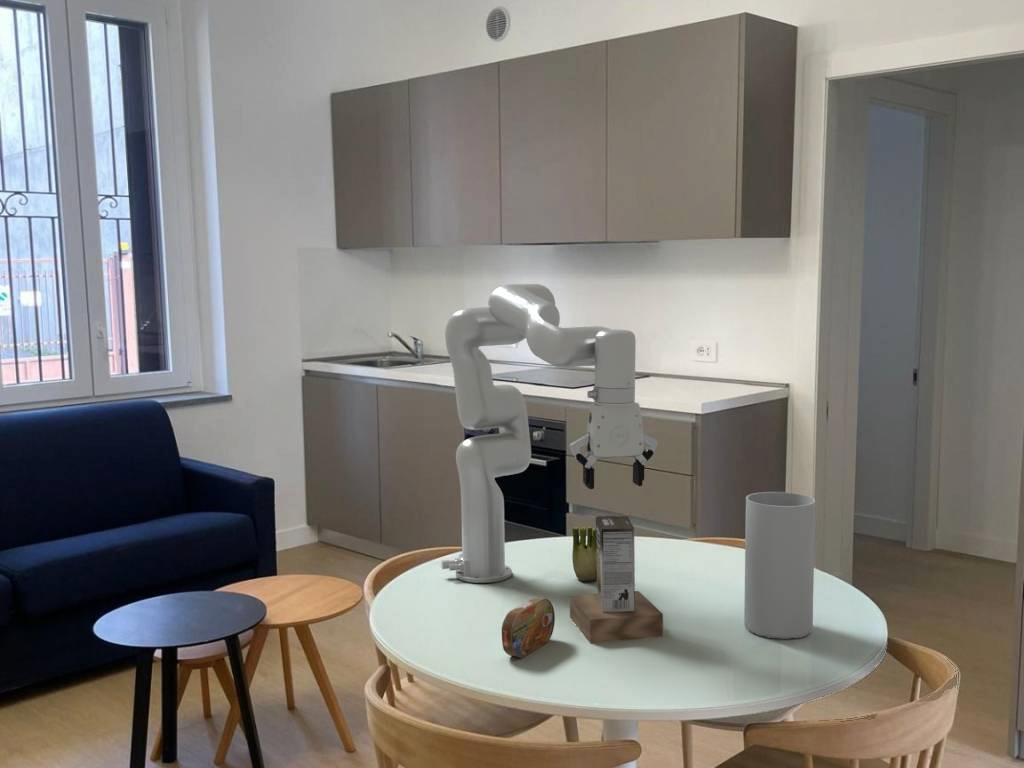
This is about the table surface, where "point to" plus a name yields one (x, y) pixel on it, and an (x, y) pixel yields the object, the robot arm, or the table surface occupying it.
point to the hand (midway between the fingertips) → (613, 486)
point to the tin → (528, 627)
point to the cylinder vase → (779, 564)
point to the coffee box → (615, 563)
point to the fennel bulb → (585, 554)
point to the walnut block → (615, 620)
